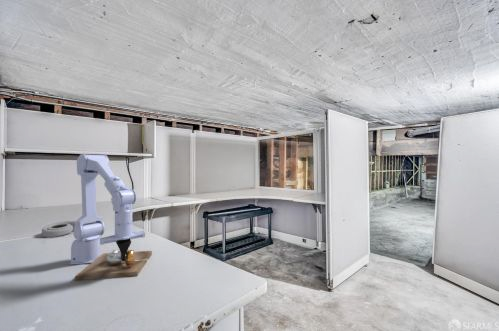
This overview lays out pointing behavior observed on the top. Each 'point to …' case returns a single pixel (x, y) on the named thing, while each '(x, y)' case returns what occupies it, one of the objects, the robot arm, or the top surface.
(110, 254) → the crank handle wheel
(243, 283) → the top surface
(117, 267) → the plain tan brown board
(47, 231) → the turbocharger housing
